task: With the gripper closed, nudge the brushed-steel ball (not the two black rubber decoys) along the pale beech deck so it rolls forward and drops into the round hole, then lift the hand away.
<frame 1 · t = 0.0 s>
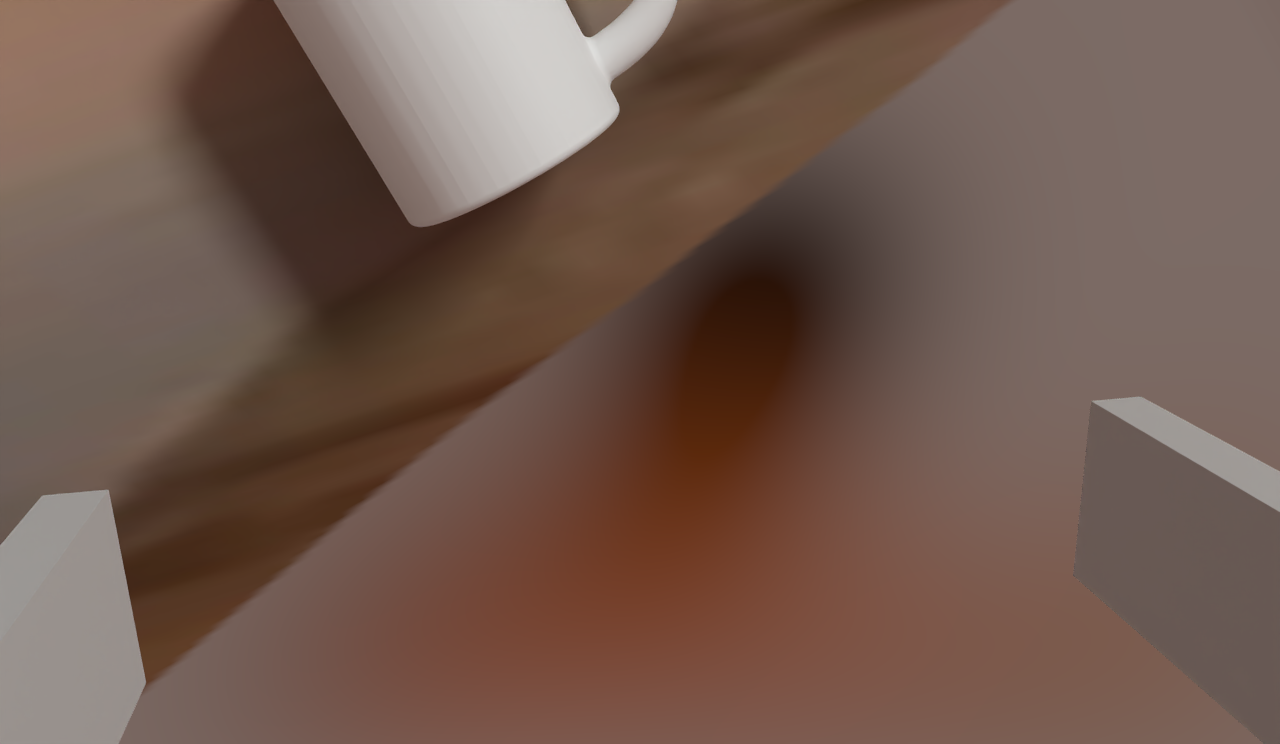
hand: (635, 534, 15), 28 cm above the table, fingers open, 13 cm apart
mug: (489, 1, 39), on the table
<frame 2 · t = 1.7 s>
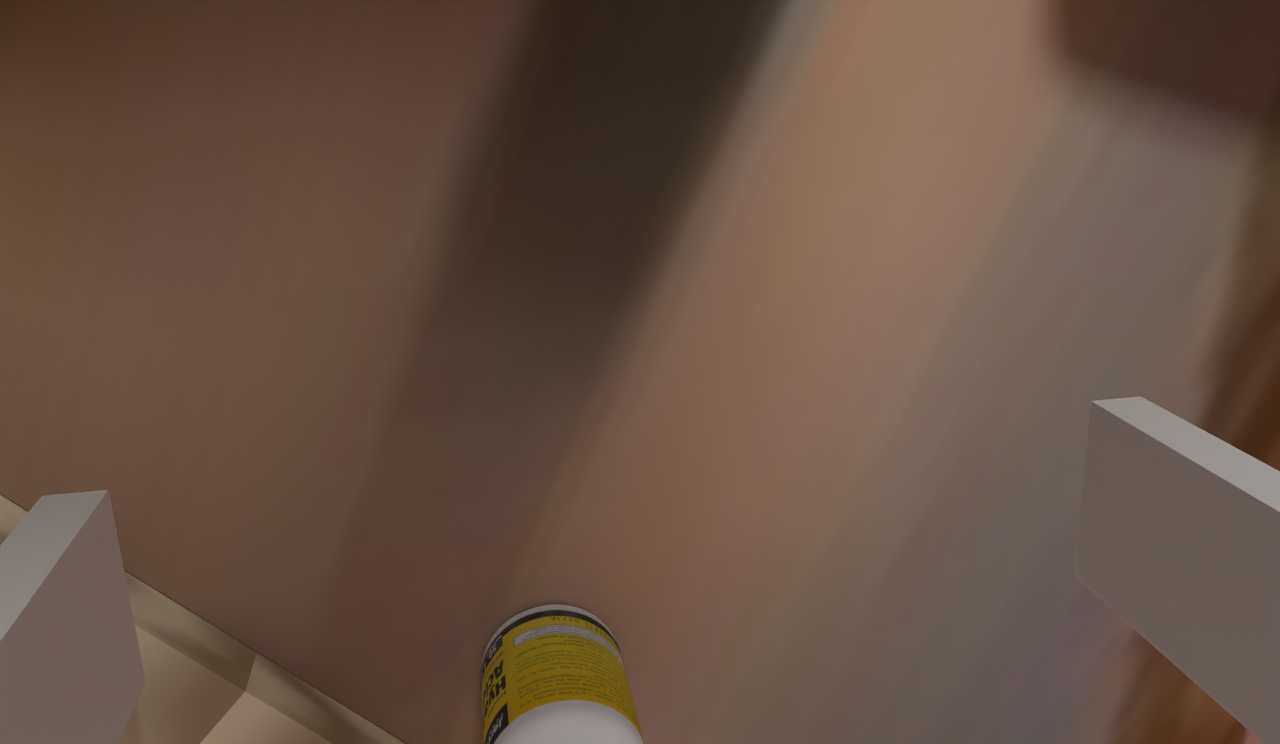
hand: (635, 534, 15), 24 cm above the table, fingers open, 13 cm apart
supplement bottle: (549, 659, 43), on the table
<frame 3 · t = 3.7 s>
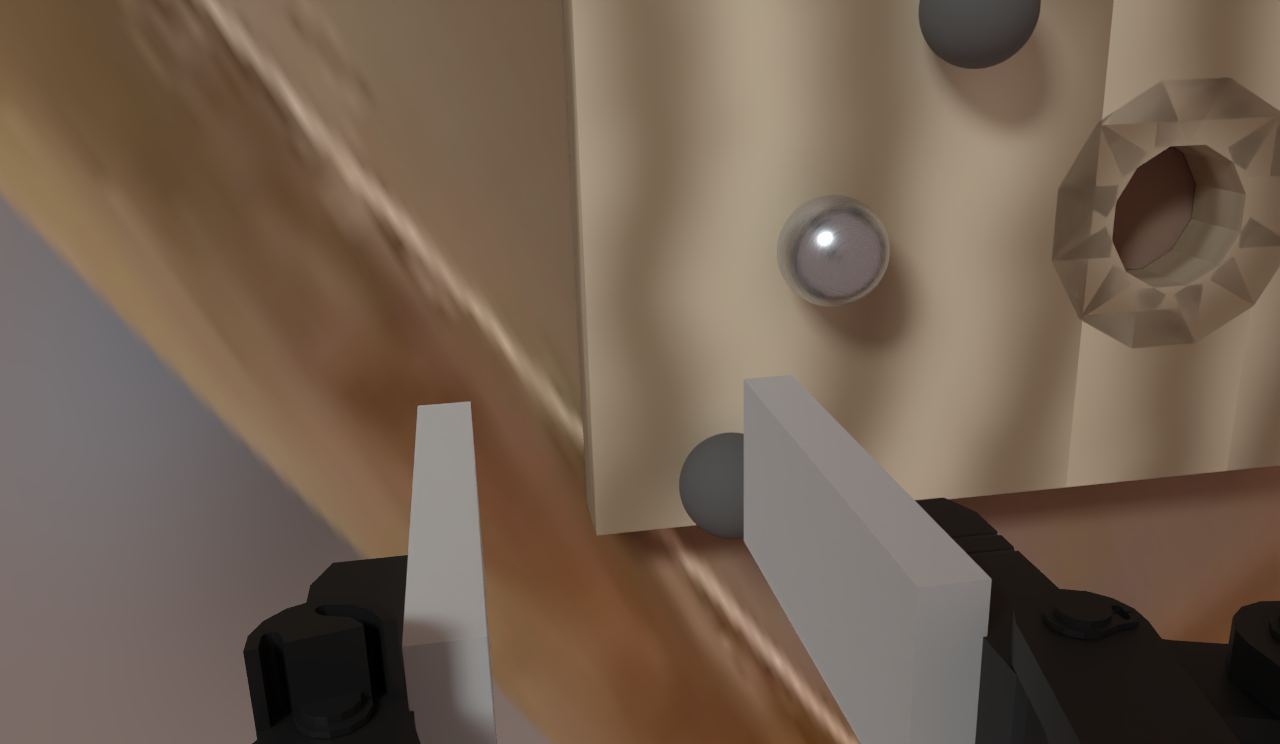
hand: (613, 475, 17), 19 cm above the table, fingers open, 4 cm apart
deck: (966, 215, 36), on the table
steel ball: (832, 251, 32), point 4 cm above the table, touching deck
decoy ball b: (978, 8, 30), point 4 cm above the table, touching deck
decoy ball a: (731, 485, 33), point 4 cm above the table, touching deck
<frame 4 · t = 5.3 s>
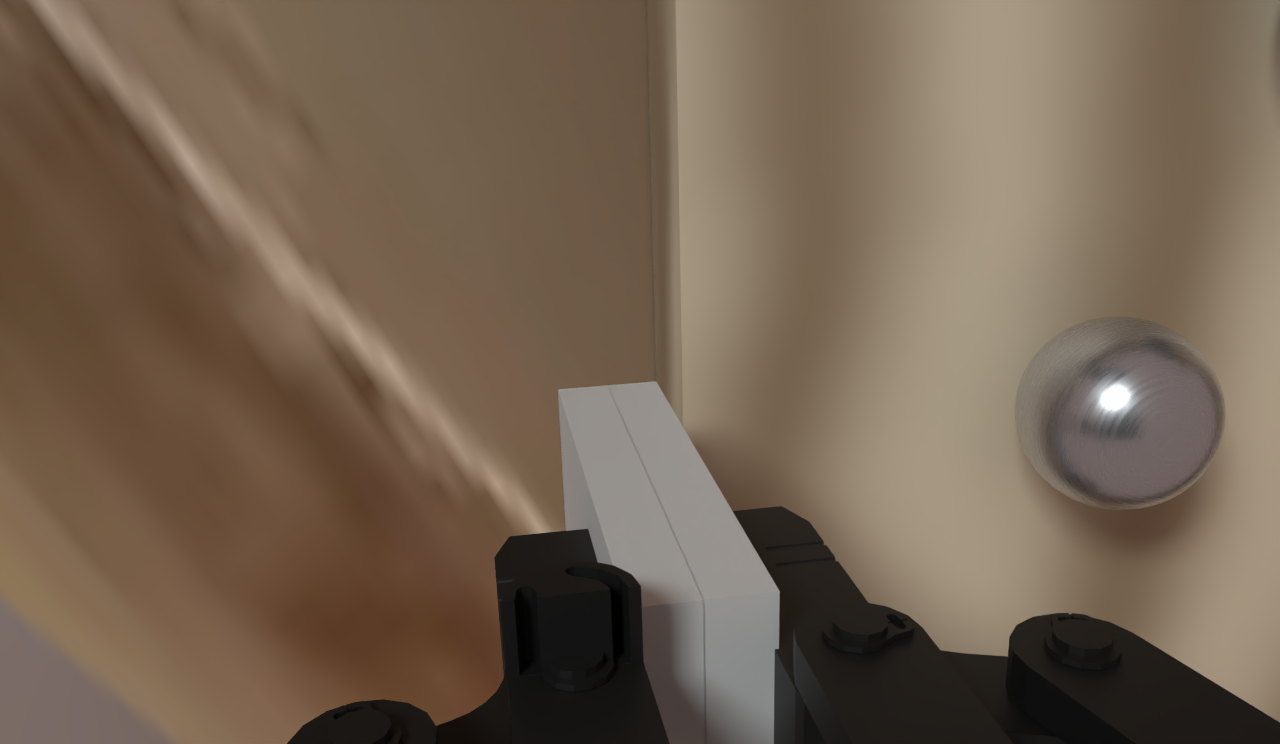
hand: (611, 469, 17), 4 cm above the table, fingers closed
deck: (1268, 321, 23), on the table
steel ball: (1116, 412, 18), point 4 cm above the table, touching deck
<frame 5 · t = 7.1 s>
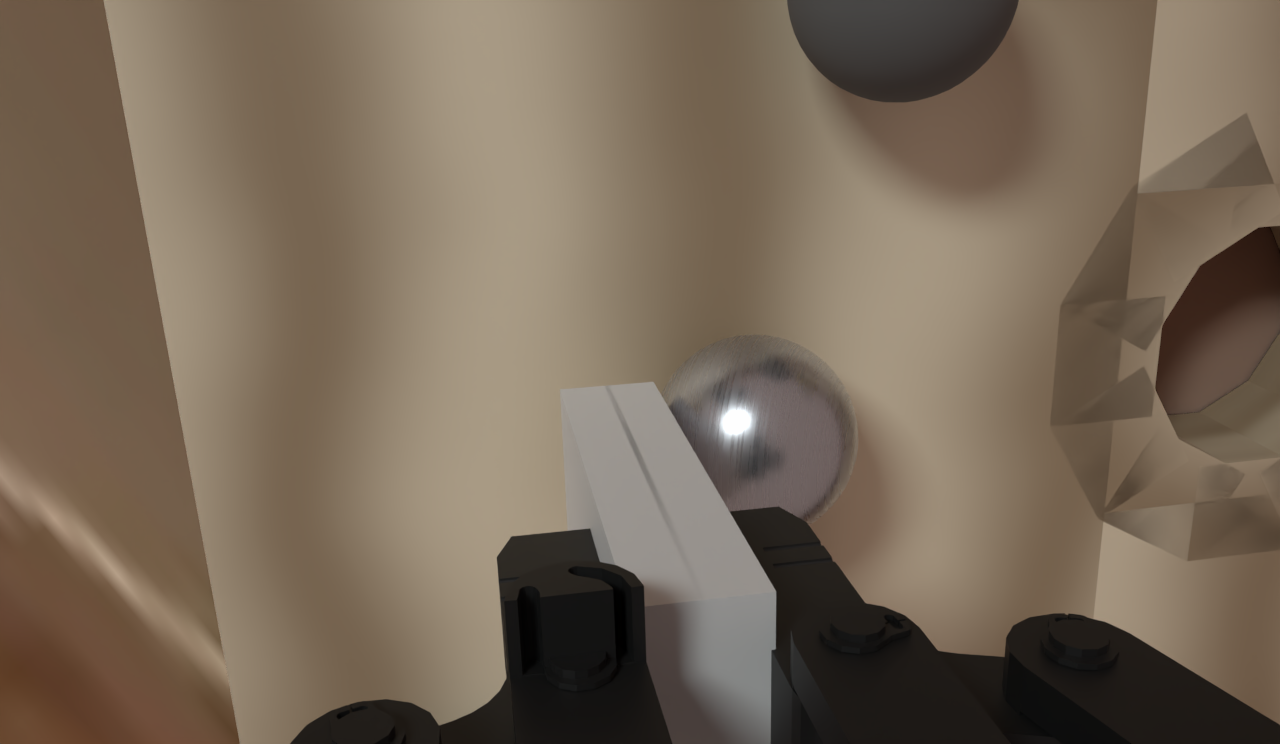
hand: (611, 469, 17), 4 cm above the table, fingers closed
deck: (906, 336, 22), on the table
steel ball: (754, 436, 17), point 4 cm above the table, tilted 61°, touching deck, gripper
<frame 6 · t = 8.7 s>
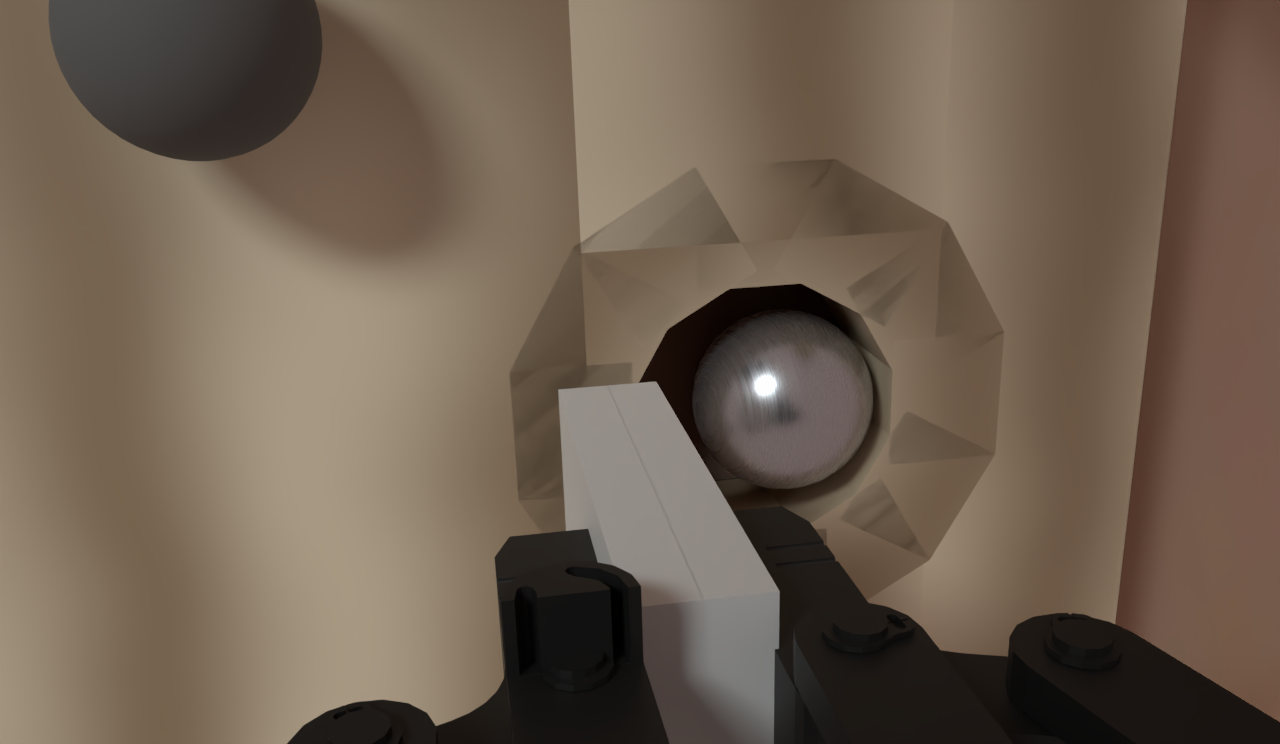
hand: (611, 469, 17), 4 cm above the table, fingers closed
deck: (409, 398, 20), on the table
steel ball: (781, 399, 20), point 2 cm above the table, tilted 102°
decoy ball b: (191, 33, 14), point 4 cm above the table, touching deck
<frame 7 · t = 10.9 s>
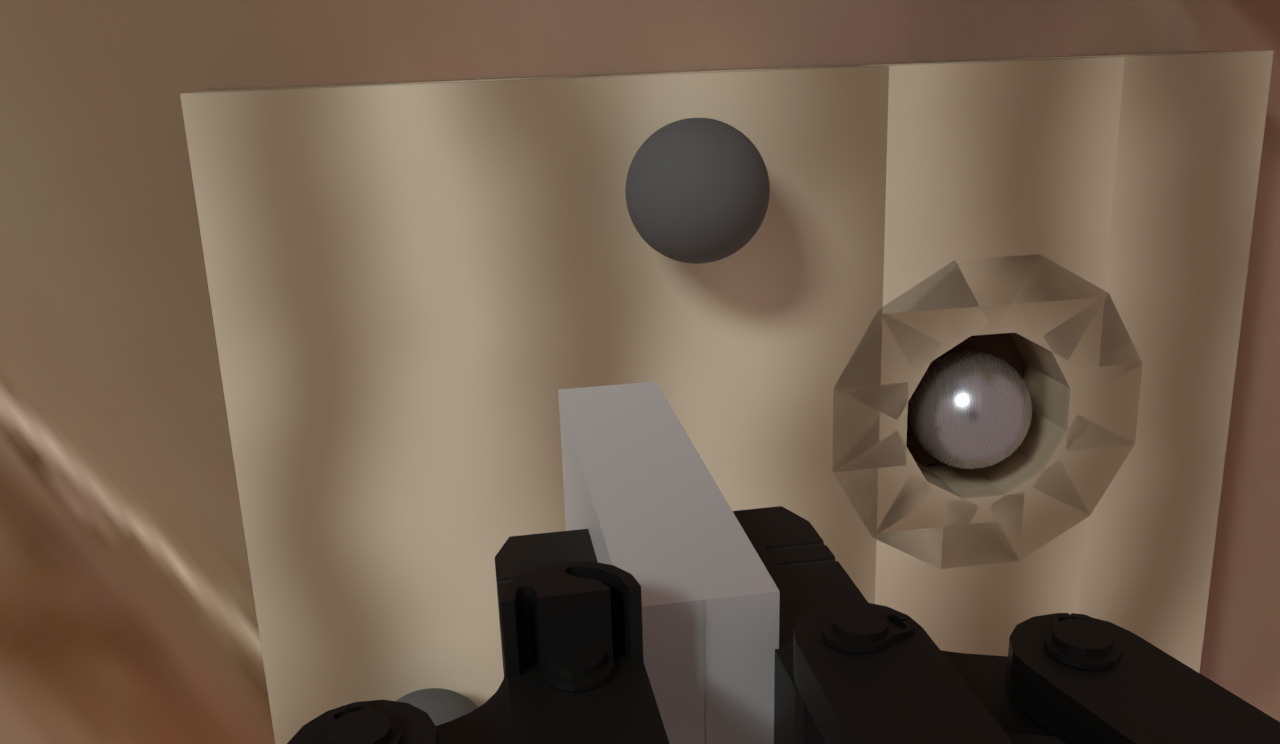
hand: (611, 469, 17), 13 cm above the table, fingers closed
deck: (742, 407, 30), on the table
steel ball: (969, 409, 30), point 2 cm above the table, tilted 77°
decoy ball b: (697, 191, 24), point 4 cm above the table, touching deck
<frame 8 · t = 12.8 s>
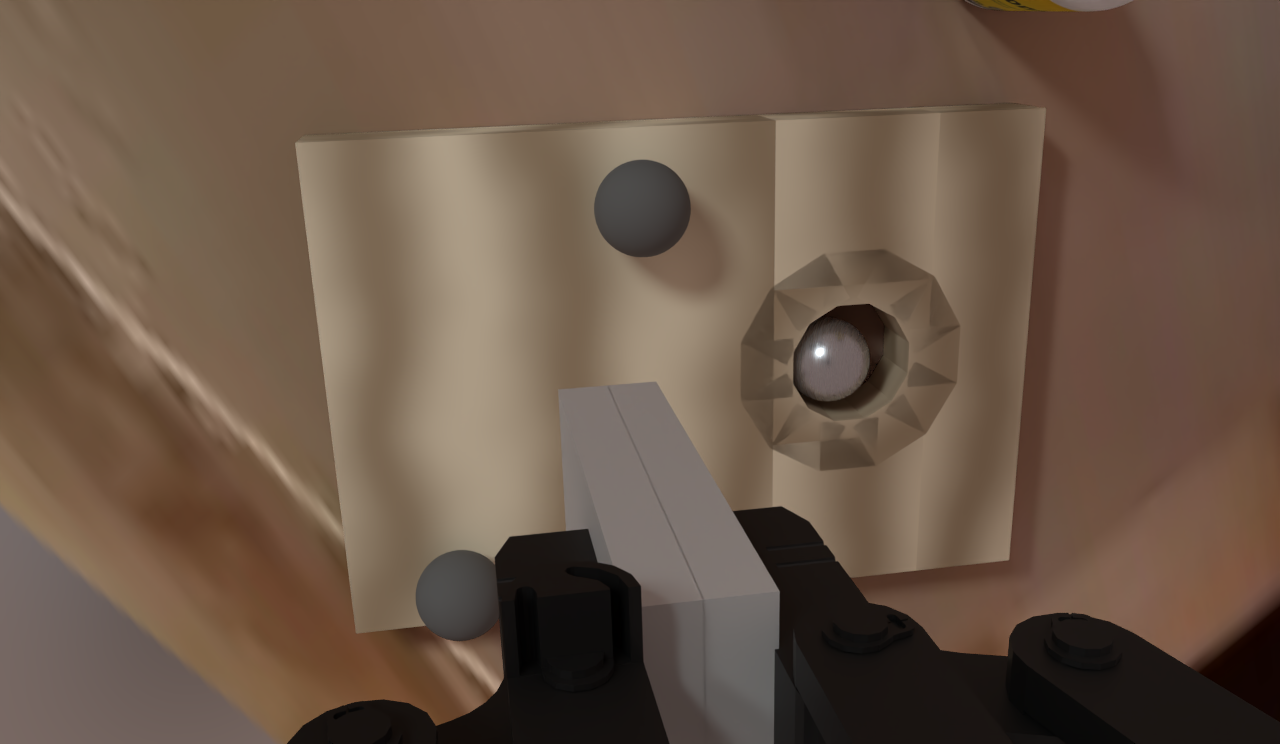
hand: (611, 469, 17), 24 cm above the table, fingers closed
deck: (680, 356, 43), on the table
steel ball: (827, 359, 42), point 2 cm above the table, tilted 58°
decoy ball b: (642, 208, 36), point 4 cm above the table, touching deck
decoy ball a: (460, 595, 40), point 4 cm above the table, touching deck
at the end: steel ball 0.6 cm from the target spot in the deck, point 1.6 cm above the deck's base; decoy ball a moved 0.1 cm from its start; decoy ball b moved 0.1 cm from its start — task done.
